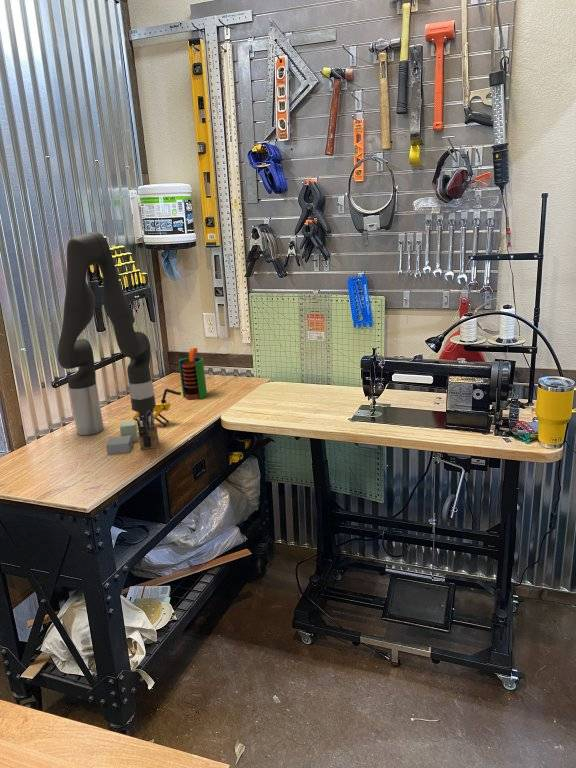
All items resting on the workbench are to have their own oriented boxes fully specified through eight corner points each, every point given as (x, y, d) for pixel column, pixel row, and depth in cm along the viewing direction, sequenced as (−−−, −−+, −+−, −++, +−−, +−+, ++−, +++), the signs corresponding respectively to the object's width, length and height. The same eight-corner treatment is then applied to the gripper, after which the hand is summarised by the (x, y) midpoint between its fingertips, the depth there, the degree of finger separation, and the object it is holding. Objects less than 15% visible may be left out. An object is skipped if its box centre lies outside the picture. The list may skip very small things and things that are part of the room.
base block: (111, 447, 197) (109, 437, 196) (132, 445, 198) (131, 435, 197) (107, 455, 190) (106, 445, 189) (129, 453, 191) (128, 443, 190)
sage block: (123, 438, 203) (120, 422, 202) (138, 436, 204) (135, 420, 203) (122, 443, 199) (119, 427, 197) (137, 441, 200) (135, 424, 198)
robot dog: (183, 426, 211) (179, 390, 207) (133, 429, 212) (128, 393, 208) (186, 420, 216) (182, 385, 213) (138, 423, 217) (132, 388, 213)
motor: (179, 399, 241) (173, 352, 236) (189, 393, 250) (183, 346, 244) (201, 400, 238) (196, 352, 232) (211, 393, 246) (206, 346, 241)
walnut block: (143, 443, 197) (141, 426, 196) (158, 442, 197) (156, 425, 196) (140, 449, 192) (138, 432, 191) (156, 448, 193) (153, 431, 191)
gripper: (135, 388, 197) (142, 436, 202) (125, 402, 183) (133, 453, 188) (157, 387, 197) (164, 434, 202) (149, 400, 183) (156, 451, 188)
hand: (149, 443), depth 195 cm, fingers closed on walnut block, 5 cm apart
